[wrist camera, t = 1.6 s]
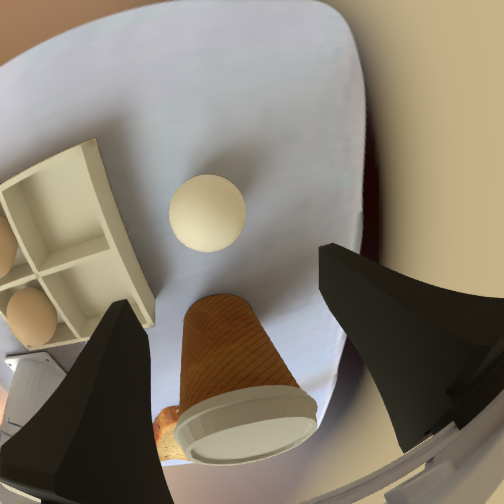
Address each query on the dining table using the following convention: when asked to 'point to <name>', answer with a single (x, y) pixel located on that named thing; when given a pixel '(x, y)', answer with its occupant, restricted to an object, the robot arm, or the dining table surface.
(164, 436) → the slice of bread
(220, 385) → the disposable coffee cup
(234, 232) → the white egg
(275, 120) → the dining table surface
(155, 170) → the dining table surface
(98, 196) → the egg carton
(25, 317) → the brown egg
